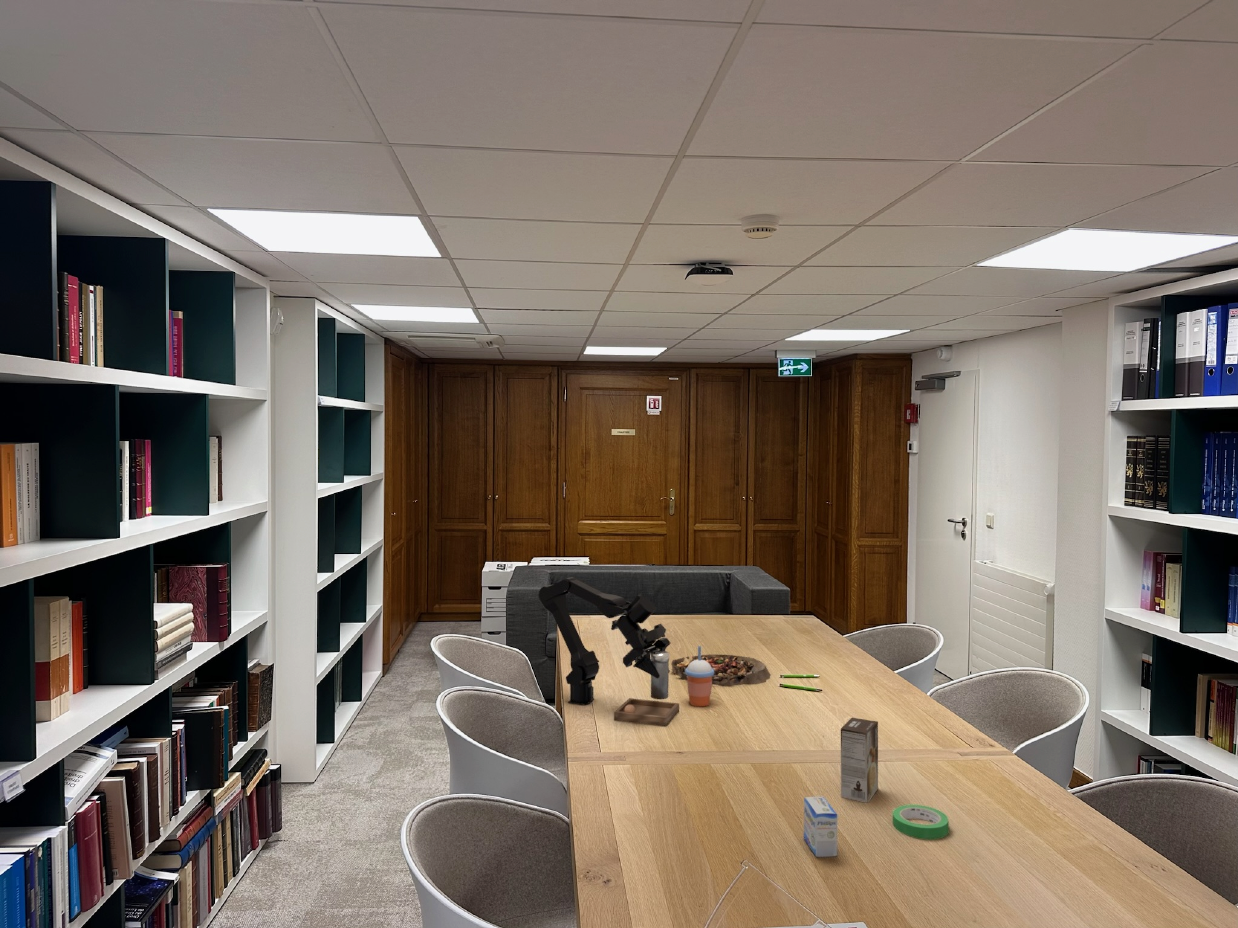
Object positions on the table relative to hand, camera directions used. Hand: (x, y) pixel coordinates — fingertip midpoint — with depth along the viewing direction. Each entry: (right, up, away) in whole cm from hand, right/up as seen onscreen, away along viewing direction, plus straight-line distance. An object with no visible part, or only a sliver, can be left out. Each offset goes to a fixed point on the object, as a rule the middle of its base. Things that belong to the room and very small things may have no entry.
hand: (663, 675), depth 238 cm
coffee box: (+43, -14, -51) cm, 68 cm away
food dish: (+23, -13, +48) cm, 55 cm away
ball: (-10, -11, +1) cm, 15 cm away
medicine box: (+27, -15, -76) cm, 82 cm away
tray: (-5, -13, +4) cm, 14 cm away
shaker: (-1, -7, +1) cm, 7 cm away
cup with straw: (+12, -13, +15) cm, 23 cm away
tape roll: (+50, -15, -68) cm, 86 cm away
